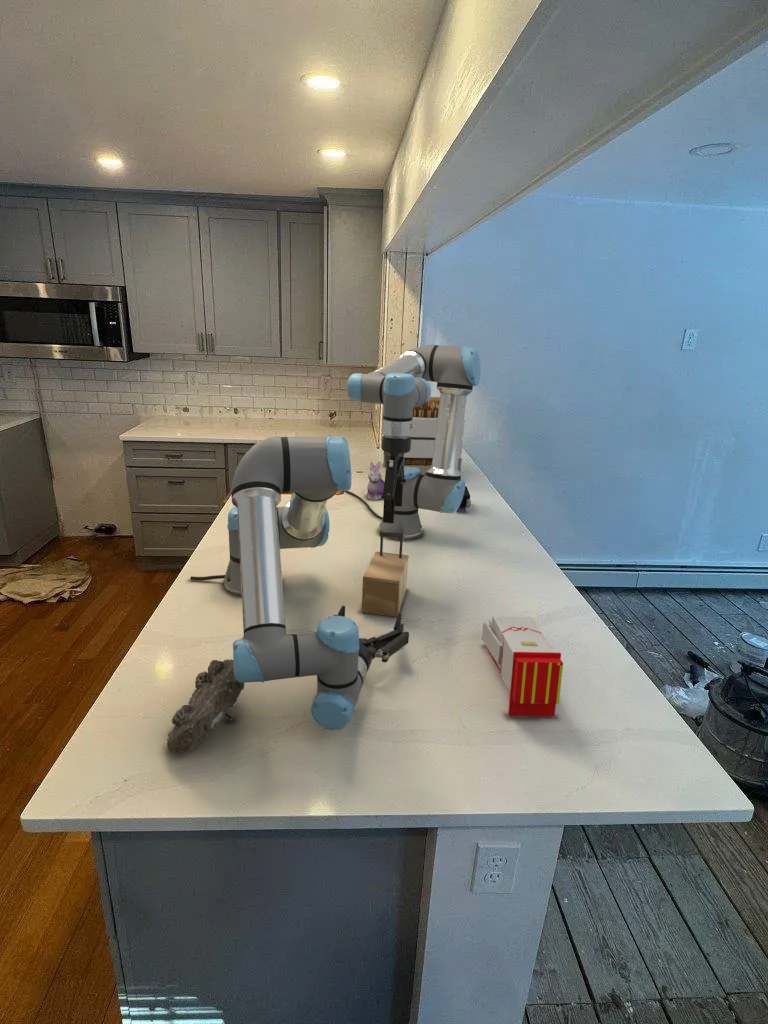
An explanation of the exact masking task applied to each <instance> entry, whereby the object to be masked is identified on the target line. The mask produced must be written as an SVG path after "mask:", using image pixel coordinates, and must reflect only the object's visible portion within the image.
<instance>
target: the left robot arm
mask: <svg viewBox="0 0 768 1024" xmlns="http://www.w3.org/2000/svg"><path fill="white" fill-rule="evenodd" d="M349 447H350V446H349V443H348V441H347V439H346V437H344V436H340V435H339V436H337V435H336V436H335V435H334V436H333V435H331V434H330V435H327V436H270V437H267V438H264V439H262V440H260V441H258V442H257V443H255V444H254V445H253V446H251V447H250V448H249V449H248V450H247V451H246V452H245V454H244V455H243V457H242V458H241V460H239V462H238V465H237V467H236V468H235V472H234V474H233V477H232V481H231V490H230V492H231V493H230V495H231V503H232V505H233V507H232V508H230V510H229V512H228V514H227V526H226V527H227V530H228V549H229V550H228V551H229V552H228V553H229V562H228V564H227V568H226V572H225V574H219V575H208V576H192V575H191V576H190V581H211V580H220V579H221V580H222V579H224V580H223V582H224V583H223V584H224V589H225V590H226V591H227V592H229V593H231V594H233V595H234V594H235V595H238V596H241V610H242V611H241V612H242V630H243V631H242V632H243V635H242V636H243V637H241V638H239V639H235V640H234V641H233V642H232V657H233V659H232V660H233V662H234V677H235V679H236V680H237V681H238V682H240V683H244V684H245V683H246V684H247V683H265V682H271V681H277V680H286V679H291V678H292V679H293V678H294V679H295V678H302V677H311V676H316V694H315V695H314V696H313V698H312V703H311V706H310V714H311V717H312V719H313V720H314V722H315V723H316V724H317V725H318V726H319V727H320V728H324V729H326V730H331V731H338V730H341V729H343V728H345V727H346V726H347V725H348V724H349V722H350V721H351V719H352V716H353V715H354V713H355V710H356V706H357V702H358V700H359V697H360V693H361V692H362V688H363V686H364V683H365V680H366V678H367V675H368V672H369V669H370V667H371V664H372V661H373V660H374V659H375V658H377V659H379V658H380V659H381V662H382V663H388V661H389V659H390V658H391V657H392V656H393V655H394V654H396V653H397V652H398V651H400V650H401V649H403V648H404V647H405V646H406V645H408V644H409V642H410V632H409V631H404V630H405V629H404V627H405V625H404V623H402V613H401V612H399V613H398V616H397V617H396V619H395V622H394V626H393V630H392V631H389V632H387V633H384V634H381V635H379V636H377V637H376V636H372V637H370V638H365V637H361V638H360V635H359V631H360V630H359V626H358V625H357V623H356V622H355V620H353V619H352V618H350V617H348V616H346V605H342V606H341V607H340V609H339V610H338V613H337V614H333V615H330V616H328V618H322V619H321V620H320V621H319V622H318V624H317V627H316V630H315V631H310V632H301V633H291V634H289V633H287V623H286V611H285V598H284V597H285V596H284V584H283V571H282V559H281V550H287V549H290V550H291V549H303V548H304V549H305V548H306V549H307V548H311V549H315V548H318V547H322V546H325V544H326V543H327V542H328V539H329V534H330V516H329V511H328V509H327V508H326V505H327V502H328V501H329V500H330V499H332V498H333V497H334V496H335V495H336V494H337V492H339V493H343V492H345V491H350V490H351V488H352V464H351V454H350V448H349ZM282 494H291V496H290V500H289V502H288V503H287V504H286V505H285V506H278V505H279V504H280V503H281V501H282Z"/></svg>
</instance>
